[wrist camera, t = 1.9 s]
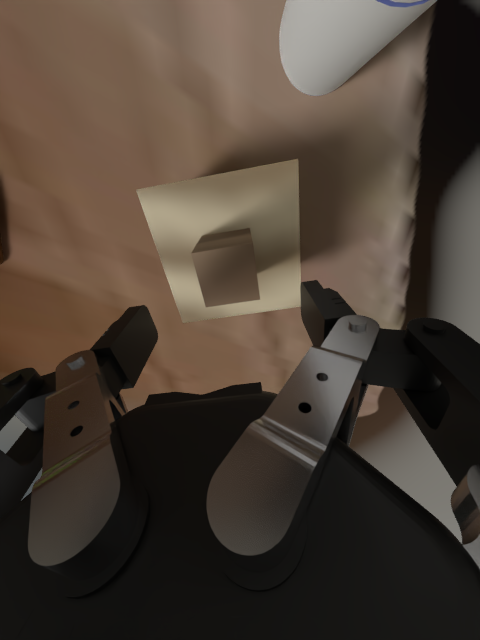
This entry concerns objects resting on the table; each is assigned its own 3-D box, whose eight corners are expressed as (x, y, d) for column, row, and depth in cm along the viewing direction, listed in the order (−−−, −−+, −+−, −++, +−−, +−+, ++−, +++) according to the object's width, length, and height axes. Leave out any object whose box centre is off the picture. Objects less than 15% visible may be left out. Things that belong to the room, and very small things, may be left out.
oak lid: (140, 189, 18) (102, 194, 13) (295, 159, 17) (319, 152, 12) (184, 317, 24) (170, 355, 19) (298, 301, 23) (315, 336, 18)
